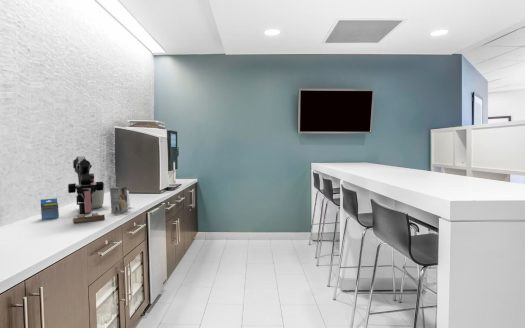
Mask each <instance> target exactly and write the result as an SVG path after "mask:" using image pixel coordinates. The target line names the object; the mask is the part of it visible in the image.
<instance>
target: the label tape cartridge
mask: <svg viewBox="0 0 525 328" xmlns="http://www.w3.org/2000/svg"><path fill="white" fill-rule="evenodd" d="M59 211H60V209H59V203H58V197H57V198H46V199H45V198H43V199H40V214H41V220H42V219H43V220H50V219H58V218H59V217H60V214H59V213H60V212H59Z"/></svg>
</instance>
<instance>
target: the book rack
mask: <svg viewBox="0 0 525 328" xmlns="http://www.w3.org/2000/svg"><path fill="white" fill-rule="evenodd" d="M77 216H78V217H74V218H72V222H73V224H74V225H75V224H82V223H90V222H99V221H104V220H105V219H106V216H105V214H99V213H98V212H91V215H89V216H86V214H78V215H77Z"/></svg>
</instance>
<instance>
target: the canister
mask: <svg viewBox="0 0 525 328" xmlns="http://www.w3.org/2000/svg"><path fill="white" fill-rule="evenodd" d="M91 182H92V183H91V184H93V185H95V184H96V182H97V181H95V178H94V179H91ZM105 186H106V183H104V186H103V190H100V191H97V190H96V192H94V193H93V195H92V203H91V209H92V210H93V209H99V208H102V207H103V205H104V201H105V199H104V198H105ZM90 190H91V189H89V191H90ZM80 203H83V202H80Z"/></svg>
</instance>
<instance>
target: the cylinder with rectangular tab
mask: <svg viewBox="0 0 525 328" xmlns="http://www.w3.org/2000/svg"><path fill="white" fill-rule="evenodd" d="M130 200H131V199H130V190H127V205H128V209H129V208H131V201H130Z"/></svg>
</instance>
